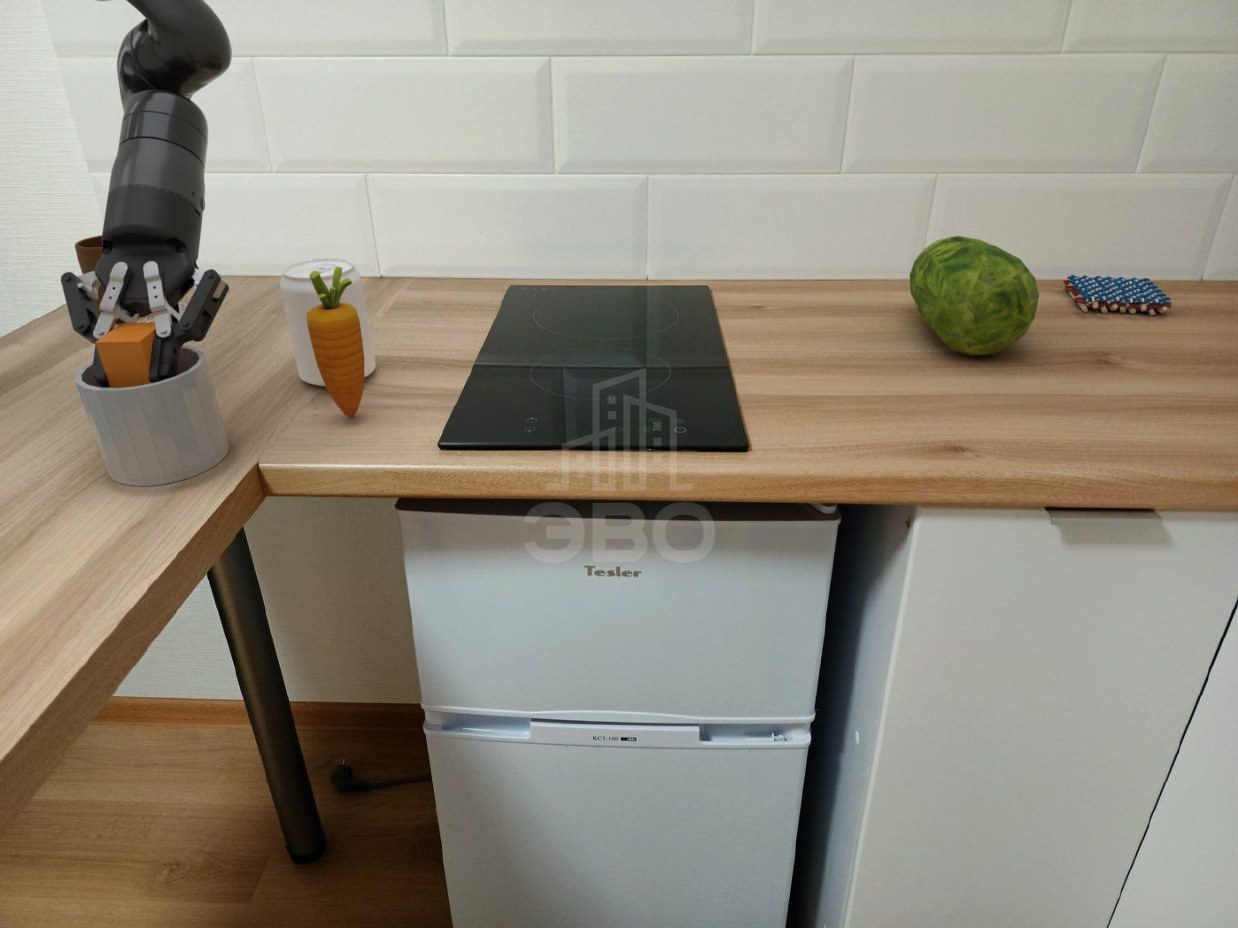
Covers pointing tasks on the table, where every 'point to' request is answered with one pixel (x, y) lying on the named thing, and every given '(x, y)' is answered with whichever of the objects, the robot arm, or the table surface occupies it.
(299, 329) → the beverage can
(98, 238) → the mug
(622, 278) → the table surface
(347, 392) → the carrot
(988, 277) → the lettuce
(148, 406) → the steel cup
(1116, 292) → the woven mat
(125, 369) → the orange rectangular prism
